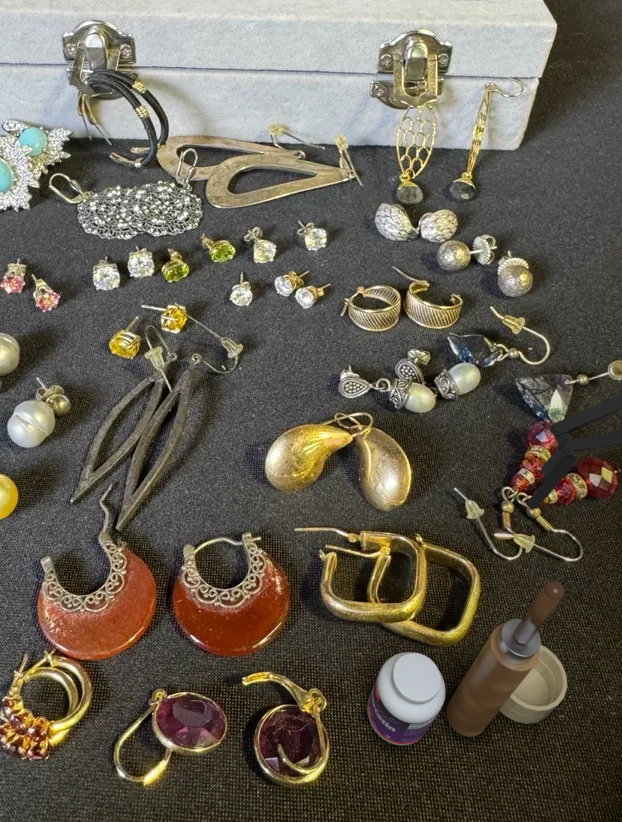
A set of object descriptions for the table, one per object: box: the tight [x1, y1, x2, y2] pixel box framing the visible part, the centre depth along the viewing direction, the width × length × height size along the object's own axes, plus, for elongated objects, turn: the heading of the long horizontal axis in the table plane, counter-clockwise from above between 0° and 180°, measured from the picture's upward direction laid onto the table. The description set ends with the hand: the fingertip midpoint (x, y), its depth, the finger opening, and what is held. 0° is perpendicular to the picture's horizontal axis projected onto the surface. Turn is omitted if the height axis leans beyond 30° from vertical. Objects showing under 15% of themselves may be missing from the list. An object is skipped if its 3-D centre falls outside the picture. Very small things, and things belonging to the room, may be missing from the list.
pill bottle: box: [366, 651, 446, 746], centre depth 99 cm, size 8×8×14 cm
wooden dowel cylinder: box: [445, 622, 540, 738], centre depth 95 cm, size 5×5×24 cm
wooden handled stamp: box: [496, 580, 565, 665], centre depth 80 cm, size 4×4×15 cm
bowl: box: [498, 644, 568, 725], centre depth 104 cm, size 9×9×6 cm
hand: (587, 554), depth 79 cm, fingers open, 13 cm apart
